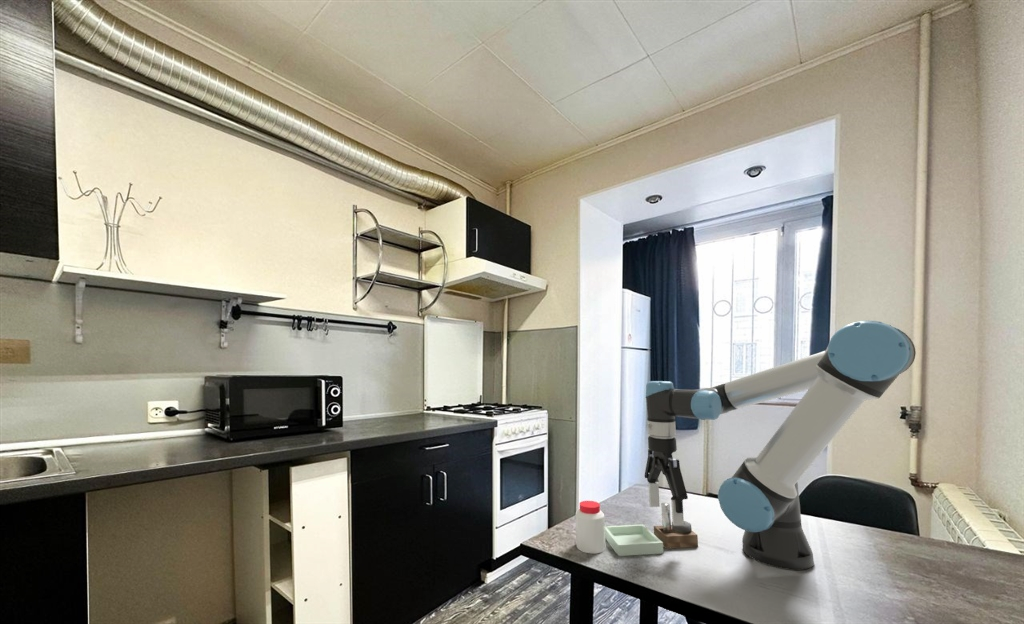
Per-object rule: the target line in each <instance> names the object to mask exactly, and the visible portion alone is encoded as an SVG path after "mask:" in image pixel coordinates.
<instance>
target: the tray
mask: <svg viewBox="0 0 1024 624" xmlns="http://www.w3.org/2000/svg"><path fill="white" fill-rule="evenodd" d="M605 541H606V542H607V543H608V544H609V545H610V547H611V548H612V549H613V551H614V552H615V554H616V555H617V556H618V557H624V556H640V555H657V554H658V555H659V554H664V546H663V542H662V541H661V540H660V539H658V538H657V537H656V536H655V535H654V532H652V531H651V530H650V529H649V528H648V527H647V526H645V524H643V523H642V524H625V525H608V526H607V525H605Z"/></svg>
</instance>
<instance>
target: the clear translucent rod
mask: <svg viewBox="0 0 1024 624" xmlns="http://www.w3.org/2000/svg"><path fill="white" fill-rule="evenodd" d="M671 518H672V516H671V505H670V503H669V502H661V519H662V520H661V522H662V525H661V526H663V533H664V534H666V533H671V525H672V521H671V520H672V519H671Z"/></svg>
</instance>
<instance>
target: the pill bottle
mask: <svg viewBox="0 0 1024 624" xmlns="http://www.w3.org/2000/svg"><path fill="white" fill-rule="evenodd" d="M605 522H606V519H605V514H604V512H603V511H602V510H601V504H600V503H599V502H597V501H595V500H581V501H580V502H579V508H578V509H577V510H576V512H575V531H576V532H575V533H576V535H575V536H576V537H575V539H576V543H575V544H576V548H577V550H579V551H581V552H583V553H586V554H601V553H603V552H604V551H606V549H607V546H606V545H607V544H606V542H607V541H606V539H605V526H606V523H605Z"/></svg>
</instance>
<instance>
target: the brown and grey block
mask: <svg viewBox="0 0 1024 624" xmlns="http://www.w3.org/2000/svg"><path fill="white" fill-rule="evenodd" d="M653 534H654V535H655V536H656V537H657V538H658V539H660V540H661V541H662V542H663V548H665V549H678V548H679V549H681V548H697V547H698V548H699V541H698V540H699V537H698V534H697V533H696V532H694V531H693V530H692V524H691V523H690V522H688V521H685V520H684V525H678V526H674V525H673V522H672V521H671V533H666V534H664V533H663V525H654V526H653Z"/></svg>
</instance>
